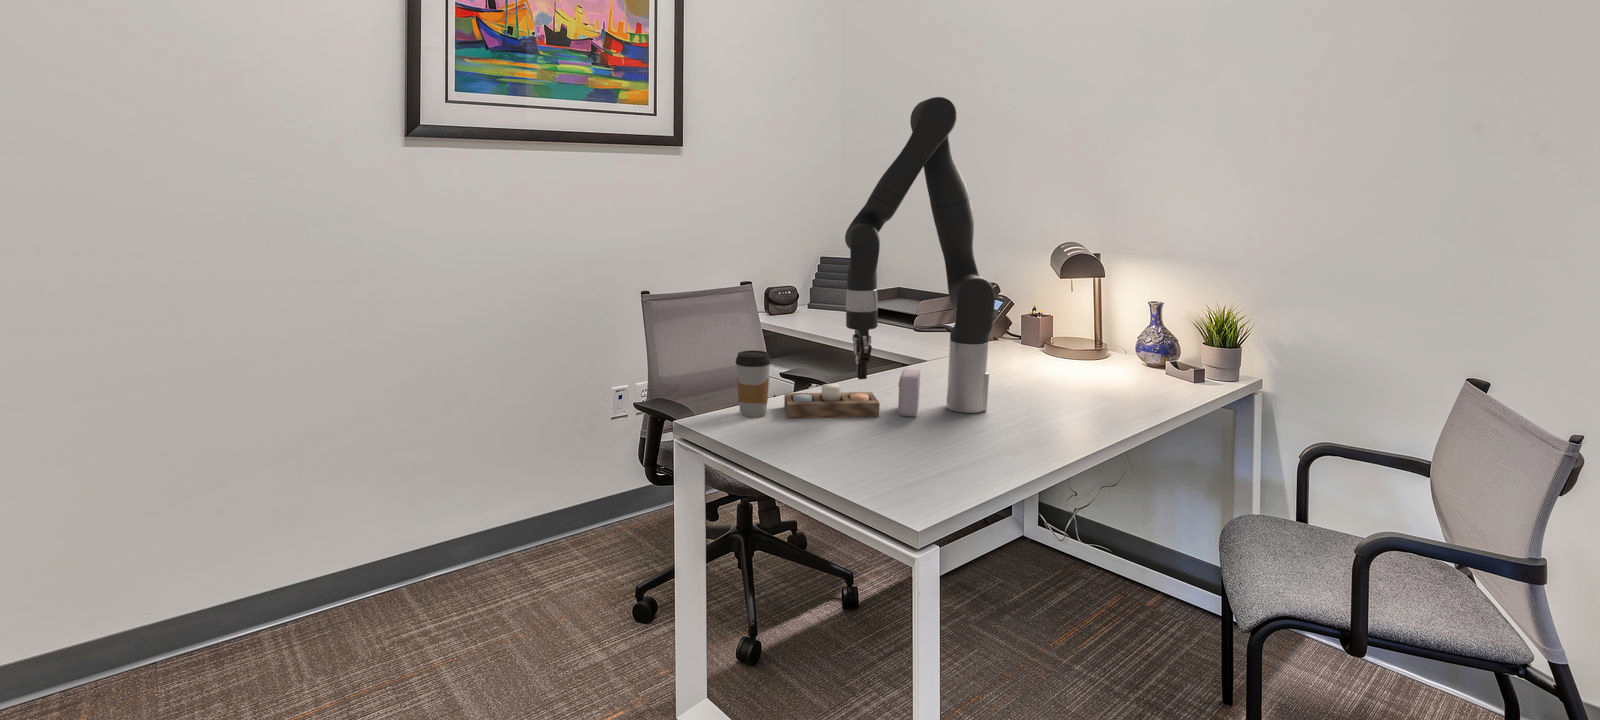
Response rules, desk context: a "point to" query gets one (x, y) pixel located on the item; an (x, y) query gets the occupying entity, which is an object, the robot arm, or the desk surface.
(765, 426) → the desk surface
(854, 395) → the pink rounded block
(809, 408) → the brown wooden tray
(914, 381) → the electronic device
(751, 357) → the coffee cup
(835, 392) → the cream key
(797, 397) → the light blue rounded block
